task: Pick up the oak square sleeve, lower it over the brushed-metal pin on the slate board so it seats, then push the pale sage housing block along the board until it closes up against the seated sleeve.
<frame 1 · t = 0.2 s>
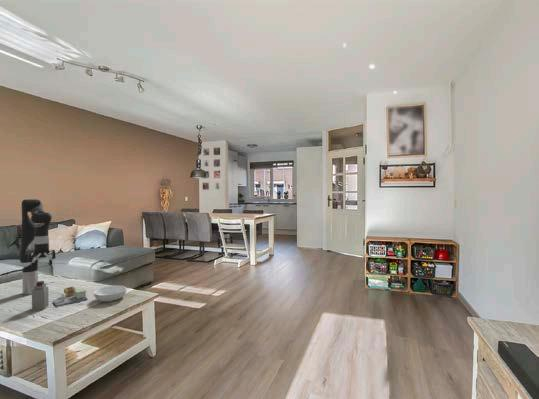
hand: (41, 266, 184), 29 cm above the table, fingers open, 8 cm apart
board: (70, 300, 199), on the table
perfume bottle: (40, 308, 186), on the table
sleeve: (69, 296, 208), on the table
serving bowl: (110, 299, 203), on the table
housing: (80, 293, 203), point 4 cm above the table, slide at 0.0 cm
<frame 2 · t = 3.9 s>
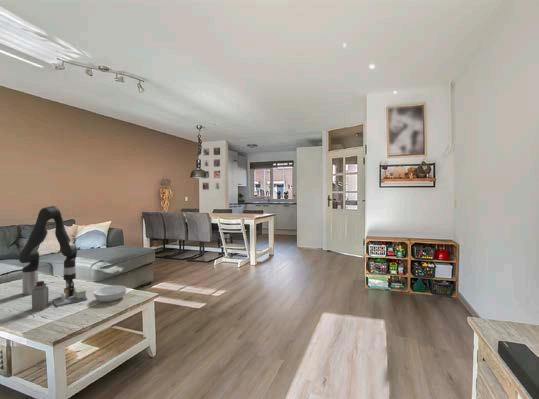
hand: (69, 294, 208), 1 cm above the table, fingers closed on sleeve, 6 cm apart
sleeve: (69, 296, 208), on the table, touching gripper
everything else where it was.
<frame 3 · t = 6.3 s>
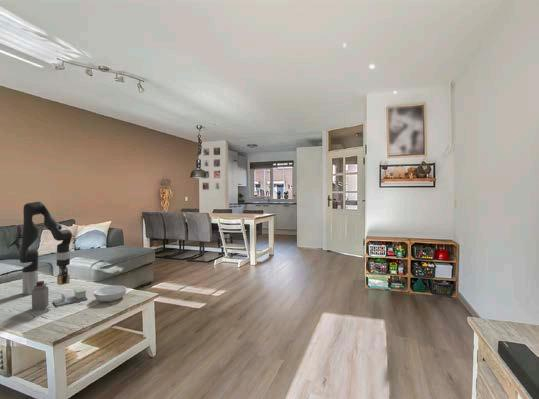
hand: (63, 281, 195), 15 cm above the table, fingers closed on sleeve, 6 cm apart
sleeve: (63, 283, 196), point 14 cm above the table, touching gripper
everything else where it was.
when the fingers open (4 cm above the table, at t = 9.1 s): sleeve drops 1 cm, resting on board.
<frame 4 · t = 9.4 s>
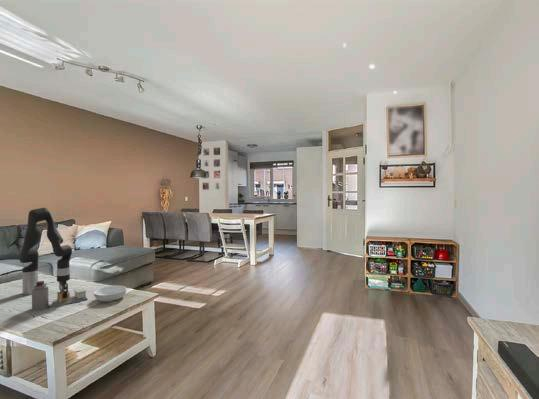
hand: (63, 296, 196), 4 cm above the table, fingers open, 8 cm apart
sleeve: (63, 300, 196), point 1 cm above the table, touching board
everything else where it was.
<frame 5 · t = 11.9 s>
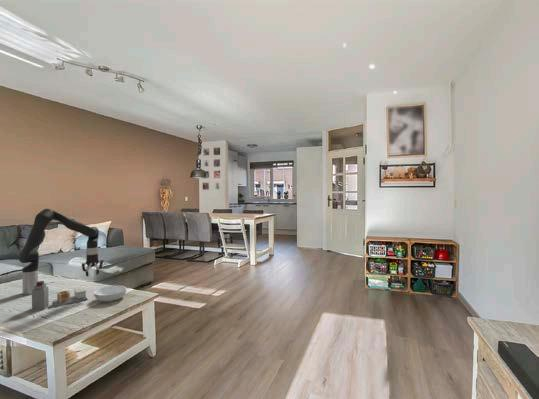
hand: (92, 275, 209), 16 cm above the table, fingers open, 5 cm apart
nothing on the table moved.
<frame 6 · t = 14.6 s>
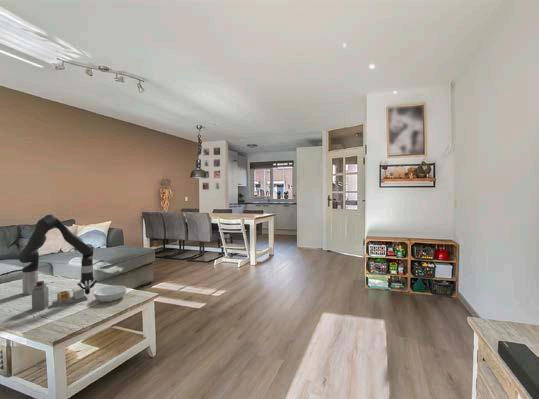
hand: (87, 294, 207), 2 cm above the table, fingers closed
housing: (78, 293, 202), point 4 cm above the table, slide at 1.1 cm, touching gripper
everything else where it was.
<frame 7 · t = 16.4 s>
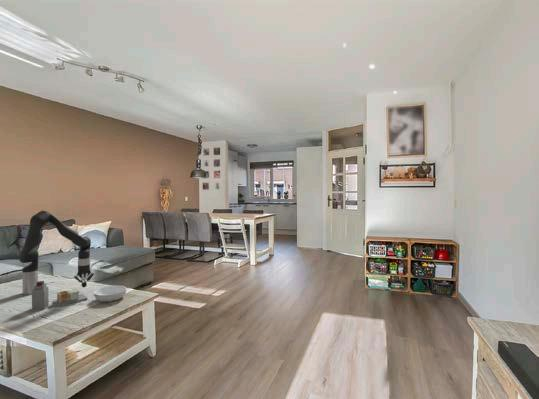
hand: (84, 287, 205), 8 cm above the table, fingers closed
housing: (73, 294, 200), point 4 cm above the table, slide at 4.2 cm
everything else where it was.
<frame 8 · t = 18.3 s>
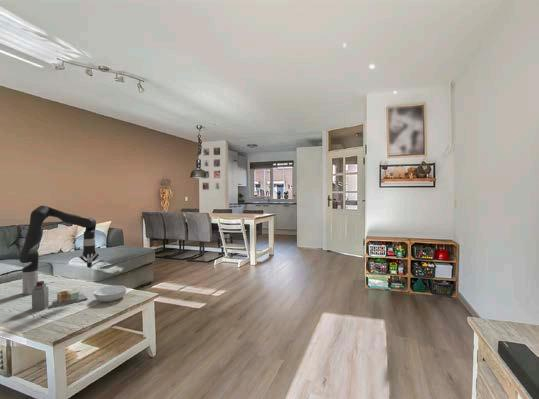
hand: (89, 267, 207), 22 cm above the table, fingers closed
nothing on the table moved.
at the end: sleeve 0.1 cm from the target spot, point 1.2 cm above the table; sleeve tilted 0°; housing slide at 4.2 cm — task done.
